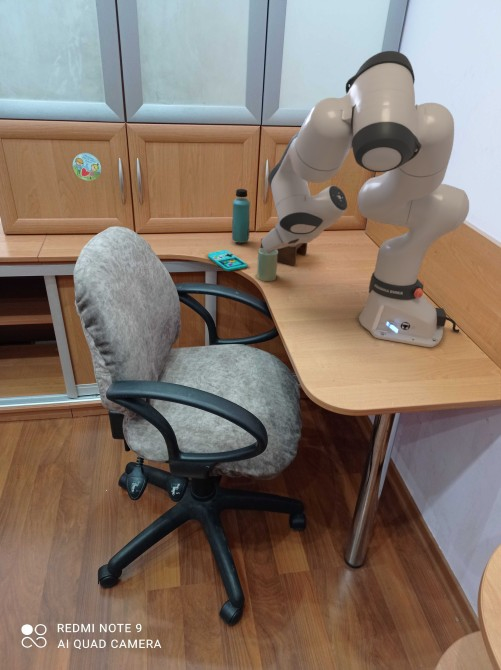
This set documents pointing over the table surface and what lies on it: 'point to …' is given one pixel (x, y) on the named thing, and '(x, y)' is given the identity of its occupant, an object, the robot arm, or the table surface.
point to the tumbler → (267, 265)
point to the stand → (290, 253)
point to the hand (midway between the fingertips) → (279, 247)
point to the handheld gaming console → (227, 260)
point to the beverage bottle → (241, 217)
